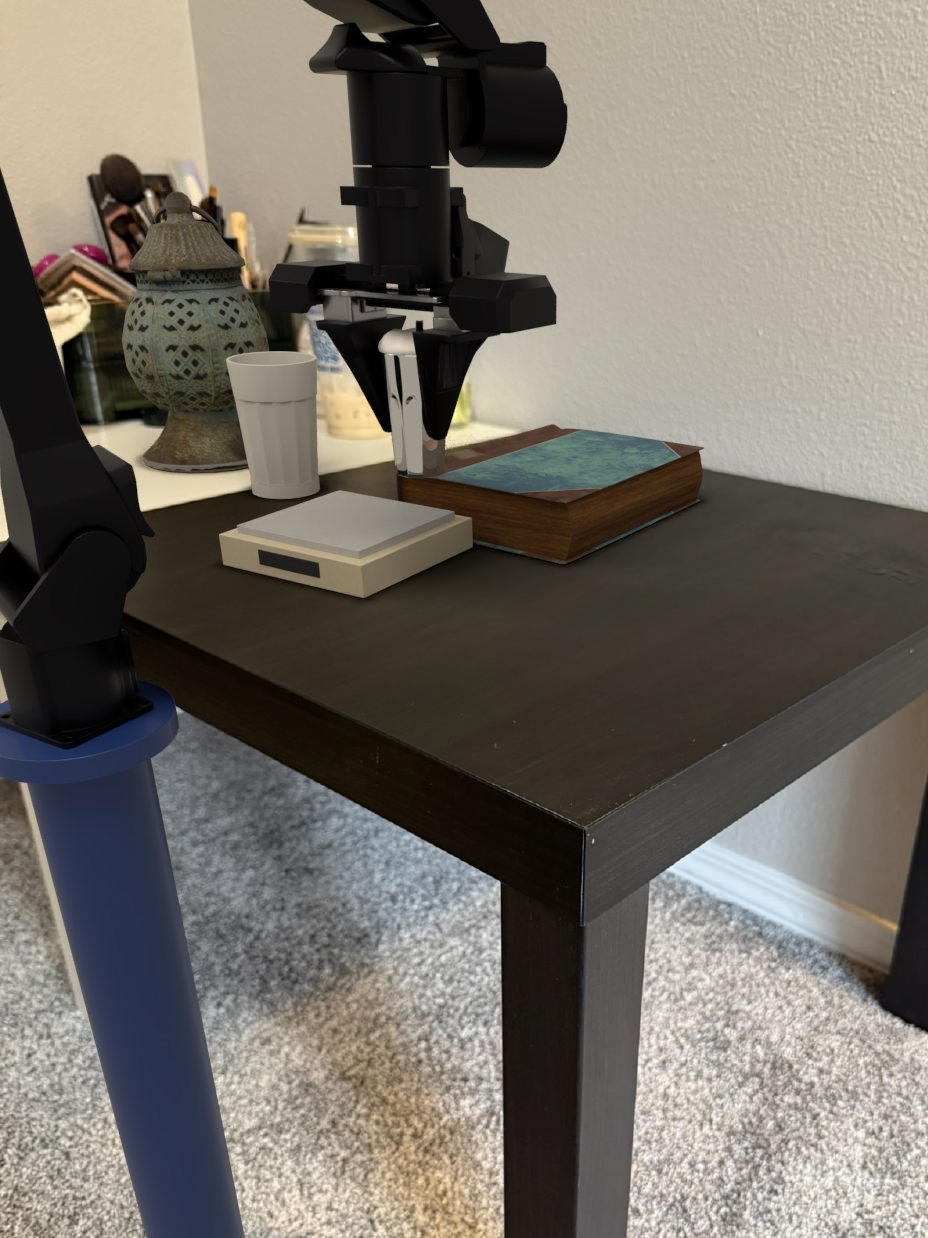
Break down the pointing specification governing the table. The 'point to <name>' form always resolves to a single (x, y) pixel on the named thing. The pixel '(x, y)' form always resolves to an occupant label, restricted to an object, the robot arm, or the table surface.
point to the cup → (278, 420)
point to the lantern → (190, 338)
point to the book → (561, 489)
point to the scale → (347, 542)
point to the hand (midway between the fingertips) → (415, 435)
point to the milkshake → (408, 408)
